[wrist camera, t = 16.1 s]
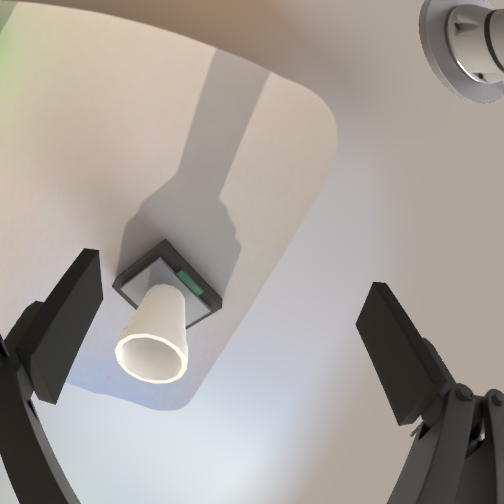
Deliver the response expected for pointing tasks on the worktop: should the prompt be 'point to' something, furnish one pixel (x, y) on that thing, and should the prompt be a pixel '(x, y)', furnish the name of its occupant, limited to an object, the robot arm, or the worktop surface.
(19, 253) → the worktop surface
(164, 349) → the foam cup
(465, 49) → the robot arm
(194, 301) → the scale
